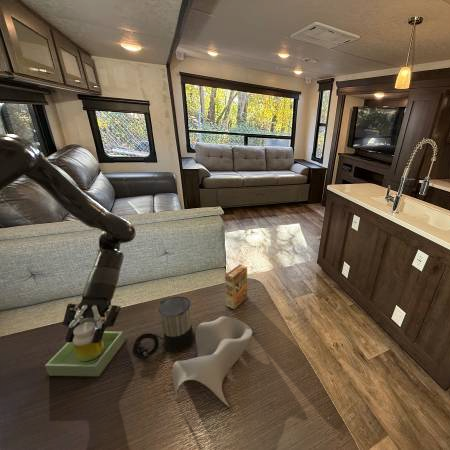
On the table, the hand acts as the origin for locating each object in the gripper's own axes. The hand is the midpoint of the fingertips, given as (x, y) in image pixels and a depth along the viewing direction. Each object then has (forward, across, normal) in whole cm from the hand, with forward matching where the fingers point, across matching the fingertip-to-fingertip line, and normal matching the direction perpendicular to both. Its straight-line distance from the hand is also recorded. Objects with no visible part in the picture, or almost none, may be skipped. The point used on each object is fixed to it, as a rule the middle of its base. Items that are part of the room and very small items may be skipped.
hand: (82, 342), depth 70 cm
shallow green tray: (+4, -1, +7) cm, 8 cm away
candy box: (-14, +38, +26) cm, 48 cm away
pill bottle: (+4, 0, +6) cm, 8 cm away
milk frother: (+1, +19, +10) cm, 22 cm away
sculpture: (+5, +37, +6) cm, 38 cm away
